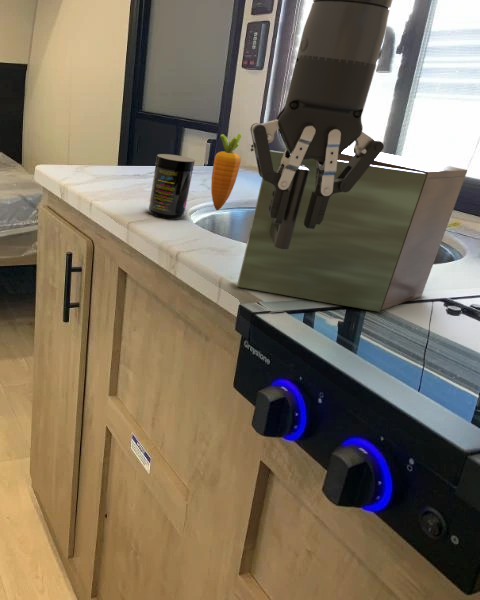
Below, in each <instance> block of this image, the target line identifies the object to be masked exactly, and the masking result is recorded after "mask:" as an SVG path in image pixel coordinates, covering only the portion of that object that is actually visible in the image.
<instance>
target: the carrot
mask: <svg viewBox="0 0 480 600" xmlns="http://www.w3.org/2000/svg"><path fill="white" fill-rule="evenodd" d="M242 137H243V135H242V134H241V133H237V136H233V138H232V139H231V140H230V141H229V140H228V137H227V136H226V135H225V134H223V133H221V134H220V139H221V142H222V146H223V149H224V151H222V150H221V151H218V152H217V153H216V154H215V156H214V161H213V166H212V173H211V185H210V187H211V200H212V203H213V207H214V209H215V210H216V211H219V210H221V209H222V207H223V206H224V205H225V204H226V202H227V201H228V199H229V198H230V195H231V193H232V192H233V189H234V186H235V184H236V181H237V177H238V174H239V170H240V167H241V161H242V159H241V157H240V155H239V154H238V153H236V152H234V151H235V150H236V149H237V148H238V147H239V145H240V144H239V143H240V140H241V138H242Z"/></svg>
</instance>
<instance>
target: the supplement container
mask: <svg viewBox="0 0 480 600" xmlns="http://www.w3.org/2000/svg"><path fill="white" fill-rule="evenodd" d="M195 161H196V160H195V159H193V158H191V157H187V156H182V155H177V154H169V153H158V154H157V155H156V160H155V167H154V173H153V179H152V184H151V191H150V197H149V203H148V213H149V214H151V215H152V216H154V217H157V218H161V219H164V220H165V219H167V220H179V219H182V218H183V217H184V216H185V214H186V208H187V204H188V203H187V202H188V197H189V193H190V187H191V181H192V177H193V172H194V167H195Z"/></svg>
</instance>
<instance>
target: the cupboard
mask: <svg viewBox="0 0 480 600" xmlns="http://www.w3.org/2000/svg"><path fill="white" fill-rule="evenodd" d="M353 148H354V146H351V145H350V146H348V147H347V148H346V149H345V150H344V151H343V152H342V153H341V154H339V155H338V160H341V161H347V162H349V161H350V160H351V158H352V157H353V156H354V155H355V154H354V152H353ZM371 165H375V166H382V167H389V168H395V169H402V170H409V171H416V172H423V173H425V174H426V177H425V180H424V183H423V186H422V189H421V192H420V195H419V198H418V201H417V204H416V207H415V210H414V213H413V216H412V219H411V221H410V224H409V227H408V230H407V233H406V236H405V239H404V242H403V245H402V248H401V251H400V254H399V257H398V260H397V263H396V266H395V269H394V272H393V274H392V277H391V280H390V283H389V286H388V289H387V292H386V295H385V298H384V301H383V304H382V307H381V310H380V311H384V310H387V309H389V308H393V307H395V306H398V305H401V304H404V303H406V302H409V301H412V300H415V299H419V298H421V297H422V296H423V293H424V290H425V288H426V285H427V283H428V279H429V277H430V275H431V271H432V269H433V266H434V263H435V260H436V258H437V255H438V253H439V250H440V247H441V244H442V241H443V239H444V236H445V233H446V230H447V228H448V224H449V222H450V219H451V217H452V214H453V211H454V208H455V207H456V203H457V200H458V199H459V198H458V197H459V195H460V192H461V189H462V187H463V185H464V181H465V179H466V175H467V173H468V169H465V168H460V167H454V166H451V165H444V164H440V163H437V162H436V163H435V162H430V161H426V160H420V159H417V158H416V159H415V158H410V157H405V156H400V155H396V154H390V153H386V152H381V153H380V154H379V155H378V156H377V158H376V159H375V160H374V161H373V163H372V164H371Z"/></svg>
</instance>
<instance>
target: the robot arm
mask: <svg viewBox="0 0 480 600" xmlns="http://www.w3.org/2000/svg"><path fill="white" fill-rule="evenodd" d="M312 2H313V3H312V4H311V7H310V10H309V13H308V16H307V18H306V20H305V24H304V27H303V29H302V35H301V38H300V42H299V47H298V51H297V55H296V59H295V63H294V67H293V70H292V74H291V79H290V82H289V83H290V84H289V88H288V92H287V95H286V99H285V104H284V107H283V108H282V109H281V111H280V112H279V113H278V115H277V116H276V118H275V119H273V120H269V121H266V122H262V123H259V122H255V123H253V124H252V125H250V135H251V140H252V144H253V151H254V156H255V160H256V165H257V171H258V175H259V177H261V179H262V178H263V179H264V180H265V181H267V182H269V183H271V184H273V192H272V196H271V200H270V204H269V208H268V213H269V216H270V217H271V218H272V221H273V222H274V223H275V224H282V221H283V217H284V213H285V209H286V205H287V202H288V198H289V194H290V191H289V190H288V187H289V186H290V183H291V181H292V179H293V177H294V174H295V172H296V171H297V170H298V168H299V167H300V164H301V162H302V160H303V159H304V160H305V159H315V160H316V170H317V173H316V183H315V188H316V190H315V192H312V194H311V198H310V201H309V205H308V209H307V212H306V216H305V220H304V225H305V227H306V228H309V229H314V228H315V226H316V224H319V225H320V223H321V222H322V221H323V218H324V214H325V211H326V207H327V204H328V200H329V198H330V196H331V195H332V194H334V193H339V192H349V191H350V190H351V189H352V187H353V186H354V185H355V184H356V182H357V181H358V180H359V179H360V177H361V176H362V175H363V174H364V172H365V171H366V170H367V169H368V168H369V166H370V165H371V164H372V163H373V161H374V160H375V159H376V158H377V156H378V155H379V154H380V153H382V151H383V150H384V147H385V146H384V143H383V142H382V141H379V140H377V139H375V138H373V137H371V136H370V135H368V134H366V133H365V132H363V123H362V115H363V113H364V109H365V107H366V103H367V100H368V95H369V92H370V89H371V85H372V82H373V78H374V75H375V72H376V69H377V65H378V62H379V60H380V59H381V56H382V52H383V46H384V45H383V44H384V42H385V37H386V32H387V26H388V21H389V20H388V19H389V14H390V9H391V6H392V3H393V0H312ZM277 131H278V132H279V134H280V137H281V139H282V141H283V144H284V147H285V150H284V151H283V152H284V154H283V157H282V159H281V164H280V166H279V169H278V171H277V172H276V171H274V170H273V165H272V159H271V154H270V150H271V149H270V144H272V142H274V140H275V133H276V132H277ZM354 142H355V144H354V146H353V147H354V148H353V152H354V154H355V155H354V156H353V157H352V158H351V160H350V161H349V162H348V163H347V165H346V166H345V167H344V168H343V170H342V171H341V172H340V174H339V175H338V176H337V177H336V179H334V175H335V173H336V170H337V161H338V155H339V154H341V153H342V152H343V151H344V150H345V149H346V148H347V147H348V146H351V145H352V144H353V143H354ZM330 161H331V162H330Z"/></svg>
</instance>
